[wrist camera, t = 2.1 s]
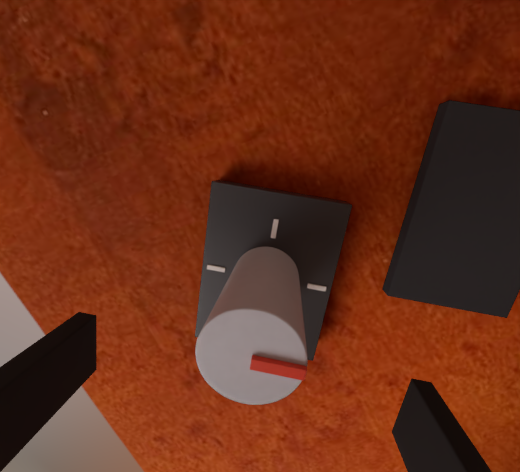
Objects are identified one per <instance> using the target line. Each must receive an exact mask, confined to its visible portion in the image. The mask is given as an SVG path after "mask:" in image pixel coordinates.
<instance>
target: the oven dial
mask: <svg viewBox="0 0 520 472" xmlns="http://www.w3.org/2000/svg"><path fill="white" fill-rule="evenodd" d="M196 361H197V365H198V368H199V370H200V372H201V374H202V376H203V378H204V379H205V380H206V382H207V383H208V384H209V385H210V386H211V387H212V388H213V389H214V390H216V391H217V392H218V393H220V394H221V395H223V396H225V397H227V398H228V399H231V400H233V401H236V402H240V403H244V404H253V405H259V404H268V403H272V402H276V401H278V400H281V399H283V398H284V397H286V396H288V395H289V394H290V393H292V392H293V391H294V390H295V389H296V388H297V387H298V385H299V384H300V383H301V381H304V380H305V376H306V372H307V348H306V339H305V329H304V320H303V310H302V301H301V291H300V282H299V273H298V269H297V267H296V264H295V263H294V261H293V260H292V259H291V258H290V257H289V256H288V255H287V254H286V253H284V252H283V251H281V250H279V249H276V248H273V247H257V248H254V249H251V250H249V251H247V252H246V253H245V254H243V255H242V256H241V257H240V259H239V260H238V261H237V263H236V265H235V267H234V269H233V271H232V273H231V275H230V277H229V279H228V280H227V282H226V284H225V286H224V288H223V290H222V292H221V294H220V296H219V298H218V300H217V301H216V303H215V305H214V307H213V309H212V311H211V313H210V315H209V317H208V319H207V320H206V322H205V324H204V326H203V328H202V330H201V332H200V334H199V336H198V339H197V343H196Z"/></svg>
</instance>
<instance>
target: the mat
mask: <svg viewBox="0 0 520 472" xmlns="http://www.w3.org/2000/svg"><path fill="white" fill-rule="evenodd" d="M383 290H384V292H385V293H386V294H387V295H388V296H393V297H398V298H403V299H409V300H414V301H419V302H425V303H430V304H435V305H441V306H446V307H451V308H457V309H462V310H467V311H473V312H478V313H483V314H489V315H494V316H499V317H505V318H507V316H508V314H509V312H510V310H511V308H512V305H513V303H514V301H515V299H516V297H517V294H518V292H519V290H520V111H519V110H512V109H505V108H499V107H492V106H485V105H478V104H471V103H464V102H458V101H451V100H449V101H447V102H444V103H442V104H440V105H439V107H438V111H437V114H436V117H435V120H434V124H433V127H432V130H431V133H430V137H429V140H428V143H427V146H426V150H425V153H424V156H423V159H422V163H421V166H420V169H419V172H418V176H417V179H416V182H415V185H414V188H413V192H412V195H411V198H410V201H409V205H408V208H407V211H406V214H405V218H404V221H403V224H402V227H401V231H400V234H399V237H398V240H397V244H396V247H395V250H394V253H393V257H392V260H391V263H390V266H389V270H388V273H387V276H386V279H385V283H384V286H383Z"/></svg>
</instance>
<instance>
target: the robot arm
mask: <svg viewBox="0 0 520 472" xmlns="http://www.w3.org/2000/svg"><path fill="white" fill-rule="evenodd" d="M95 370H96V315H91V314H86V313H81V312H78V313H77V314H75V315H74V316H73V317H71V318H70V319H68V320H67V321H65V322H64V323H63V324H61V325H60V326H58V327H57V328H55V329H54V330H53V331H51V332H50V333H48V334H47V335H46V336H44V337H43V338H41V339H40V340H38V341H37V342H36V343H34V344H33V345H31V346H30V347H28V348H27V349H26V350H24V351H23V352H21V353H20V354H18V355H17V356H16V357H14V358H13V359H11V360H10V361H9V362H7V363H6V364H4V365H3V366H1V367H0V472H1V471H2V470H3V468H4V467H5V466H6V465H7V464H8V463H9V462H10V461H11V460H12V459H13V458H14V457H15V456H16V455H17V454H18V453H19V451H20V450H21V449H22V448H23V447H24V446H25V445H26V444H27V443H28V442H29V441H30V440H31V439H32V438H33V436H34V435H35V434H36V433H37V432H38V431H39V430H40V429H41V428H42V427H43V426H44V425H45V424H46V423H47V422H48V420H49V419H50V418H51V417H52V416H53V415H54V414H55V413H56V412H57V411H58V410H59V409H60V408H61V407H62V406H63V405H64V403H65V402H66V401H67V400H68V399H69V398H70V397H71V396H72V395H73V394H74V393H75V392H76V390H78V388H79V387H80V386H81V385H82V384H83V383H84V382H85V381H86V380H87V379H88V378H89V377H90V376H91V375H92V374H93V373H94V371H95ZM392 433H393V436H394V438H395V441H396V443H397V446H398V448H399V451H400V453H401V456H402V458H403V461H404V463H405V466H406V468H407V471H408V472H491V470H490V469H489V467H488V466H487V464H486V463H485V461H484V460H483V458H482V457H481V455H480V454H479V452H478V451H477V449H476V448H475V446H474V445H473V443H472V442H471V441H470V439H469V438H468V436H467V435H466V433H465V432H464V430H463V429H462V427H461V426H460V424H459V423H458V421H457V420H456V418H455V417H454V415H453V414H452V412H451V411H450V409H449V408H448V406H447V405H446V404H445V402H444V401H443V399H442V398H441V396H440V395H439V393H438V392H437V390H436V389H435V387H434V386H433V384H432V383H431V382H426V381H421V380H416V379H411V382H410V384H409V387H408V390H407V392H406V395H405V398H404V400H403V403H402V406H401V408H400V411H399V414H398V416H397V419H396V422H395V424H394V427H393V430H392Z"/></svg>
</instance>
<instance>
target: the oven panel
mask: <svg viewBox="0 0 520 472" xmlns="http://www.w3.org/2000/svg"><path fill="white" fill-rule="evenodd" d="M351 208H352V205H351V204H349V203H347V202H346V201H340V200H334V199H328V198H322V197H317V196H311V195H305V194H299V193H293V192H287V191H281V190H275V189H269V188H264V187H258V186H252V185H246V184H240V183H234V182H228V181H222V180H216V181H212V185H211V194H210V203H209V212H208V221H207V231H206V240H205V249H204V258H203V267H202V277H201V286H200V295H199V304H198V313H197V323H196V332H195V337H198V336H199V334H200V332H201V330H202V328H203V326H204V324H205V322H206V320H207V319H208V317H209V315H210V313H211V311H212V309H213V307H214V305H215V303H216V301H217V300H218V298H219V296H220V294H221V292H222V290H223V288H224V286H225V284H226V282H227V280H228V279H229V277H230V275H231V273H232V271H233V269H234V267H235V265H236V263H237V261H238V260H239V259H240V257H241V256H242V255H243V254H245V253H246V252H247V251H249V250H251V249H254V248H257V247H273V248H276V249H279V250H281V251H283V252H284V253H286V254H287V255H288V256H289V257H290V258H291V259H292V260H293V261H294V263H295V264H296V267H297V269H298V273H299V282H300V291H301V301H302V310H303V320H304V329H305V339H306V348H307V359H308V360H312V361H313V359H314V355H315V351H316V347H317V343H318V339H319V335H320V331H321V327H322V323H323V319H324V315H325V311H326V307H327V303H328V299H329V295H330V291H331V287H332V283H333V279H334V275H335V271H336V267H337V263H338V259H339V255H340V251H341V247H342V243H343V239H344V236H345V232H346V228H347V224H348V220H349V216H350V212H351Z"/></svg>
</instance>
